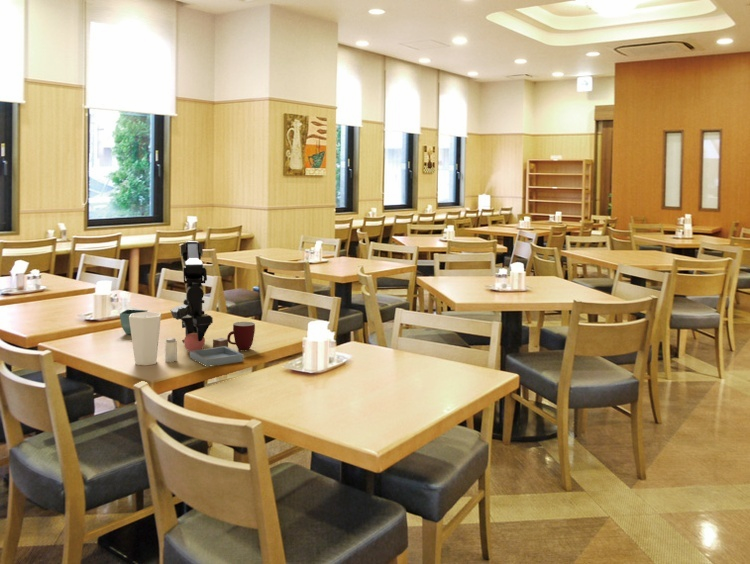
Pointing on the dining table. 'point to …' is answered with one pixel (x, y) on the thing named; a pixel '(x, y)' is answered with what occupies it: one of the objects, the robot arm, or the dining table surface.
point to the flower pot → (125, 319)
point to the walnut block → (220, 342)
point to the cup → (145, 336)
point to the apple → (193, 342)
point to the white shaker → (170, 350)
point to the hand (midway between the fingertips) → (194, 338)
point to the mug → (242, 335)
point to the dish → (216, 356)
